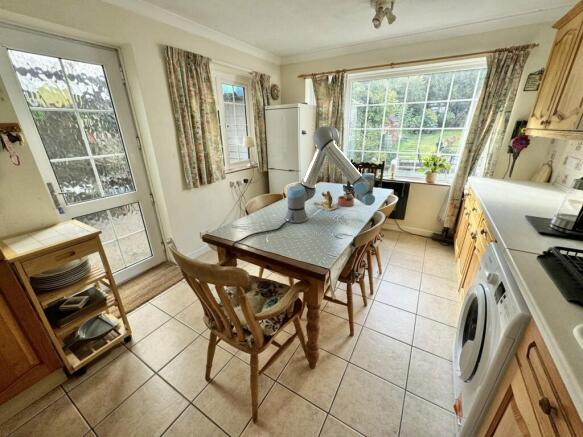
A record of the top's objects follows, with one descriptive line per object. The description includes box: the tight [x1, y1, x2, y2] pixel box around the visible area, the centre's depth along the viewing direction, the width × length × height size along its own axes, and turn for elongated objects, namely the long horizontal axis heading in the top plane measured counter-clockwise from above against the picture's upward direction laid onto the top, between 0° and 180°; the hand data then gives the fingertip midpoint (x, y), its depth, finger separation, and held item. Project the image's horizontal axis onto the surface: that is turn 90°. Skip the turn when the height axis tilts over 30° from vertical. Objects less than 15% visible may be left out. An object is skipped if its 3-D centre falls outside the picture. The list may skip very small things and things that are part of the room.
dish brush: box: [342, 179, 353, 201], centre depth 176 cm, size 6×4×16 cm
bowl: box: [337, 195, 355, 207], centre depth 196 cm, size 13×13×6 cm
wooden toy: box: [313, 190, 339, 212], centre depth 190 cm, size 22×10×14 cm, turn 37°
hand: (345, 186), depth 181 cm, fingers closed on dish brush, 3 cm apart
